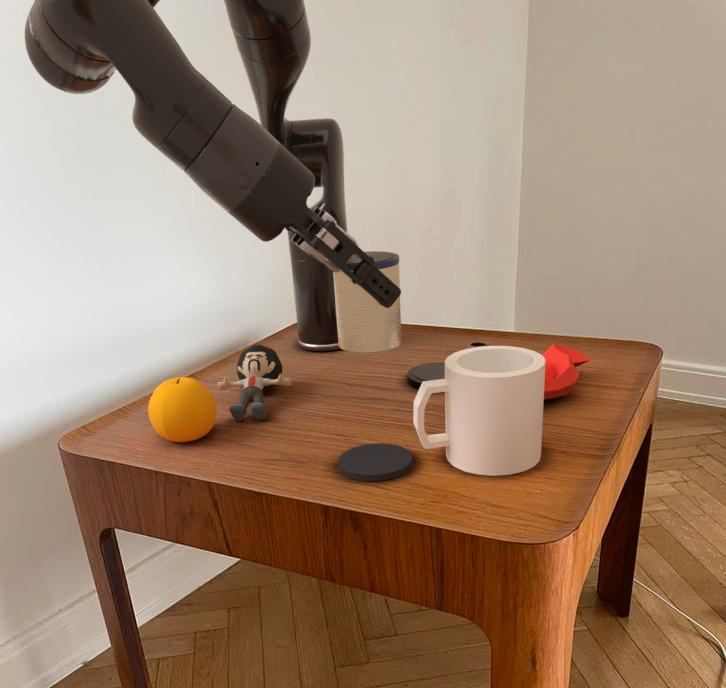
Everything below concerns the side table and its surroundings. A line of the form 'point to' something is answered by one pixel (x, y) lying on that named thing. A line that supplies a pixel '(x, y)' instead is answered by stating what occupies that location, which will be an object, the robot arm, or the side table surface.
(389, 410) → the side table surface
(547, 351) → the animal figurine
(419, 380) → the disc
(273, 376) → the figurine
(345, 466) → the trivet
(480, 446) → the mug
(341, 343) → the pot
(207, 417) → the orange
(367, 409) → the side table surface
